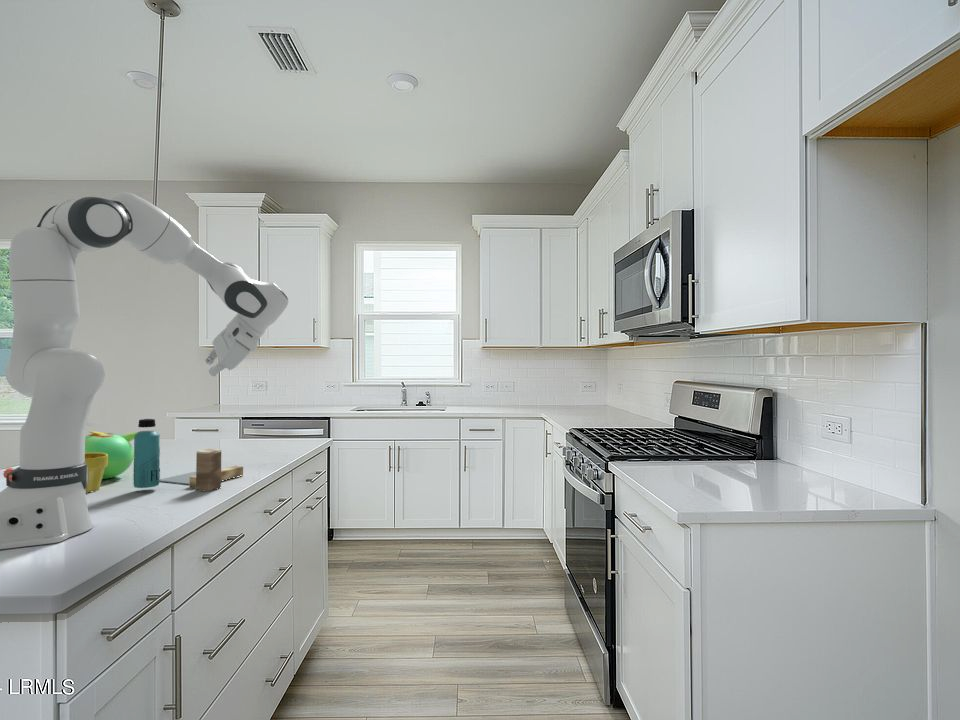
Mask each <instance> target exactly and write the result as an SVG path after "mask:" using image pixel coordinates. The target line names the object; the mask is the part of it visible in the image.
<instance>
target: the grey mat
mask: <svg viewBox="0 0 960 720" xmlns="http://www.w3.org/2000/svg"><path fill="white" fill-rule="evenodd" d="M195 475H196V471H192V472H187V473H183V474H177V475H174V476H170V477H165V478H159V480H160V481H159V483H167V482H168V483H167V484H169V483H170V484H176V483H177V485H178V484H179V485H184V484H188V485H187V486H189V484H190V476H195Z"/></svg>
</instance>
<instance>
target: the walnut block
mask: <svg viewBox="0 0 960 720" xmlns="http://www.w3.org/2000/svg"><path fill="white" fill-rule="evenodd" d="M221 469H222V449H215V448H206V449H202V450H201V449H200V450H196V469H195V472H196V488H195V491H199V490H205V491H204V492H207V491H209V492H211V491H210V490H213V489H216V490H218V489H217V488H220V487H221V488H222V482H221ZM221 488H220V489H221ZM213 491H214V490H213Z"/></svg>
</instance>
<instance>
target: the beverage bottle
mask: <svg viewBox="0 0 960 720" xmlns="http://www.w3.org/2000/svg"><path fill="white" fill-rule="evenodd" d="M154 427H156V420H155V418H143V419H142V418H141V419H139V420H138V428H154ZM137 432H138V433H136V434H135V435H134V439H133V450H134V458H133V468H132V469H133V470H132V471H133V487H134V488H137V489H146V488H147V489H148V488H155V487H158V486H159V485H160V482H159V481H160V478H161V477H160V476H161V468H160V457H161V451H160V450H161V447H160V446H161V445H160V436H161V434H160V433H159V432H157V431H156V430H140V431H137Z"/></svg>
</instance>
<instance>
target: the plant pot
mask: <svg viewBox="0 0 960 720" xmlns="http://www.w3.org/2000/svg"><path fill="white" fill-rule="evenodd" d="M85 462H86V463H87V468H88V481H87V487H86V489H85V491H86V492H89V493H92V492H91V491H94V492H96V491H95V490H97V491H98V489H100V488H101V485H102V484H101V483H102V480H103V479H102V477H103V473H104V470H105V467H107V466H108V454H106V453H85Z"/></svg>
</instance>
